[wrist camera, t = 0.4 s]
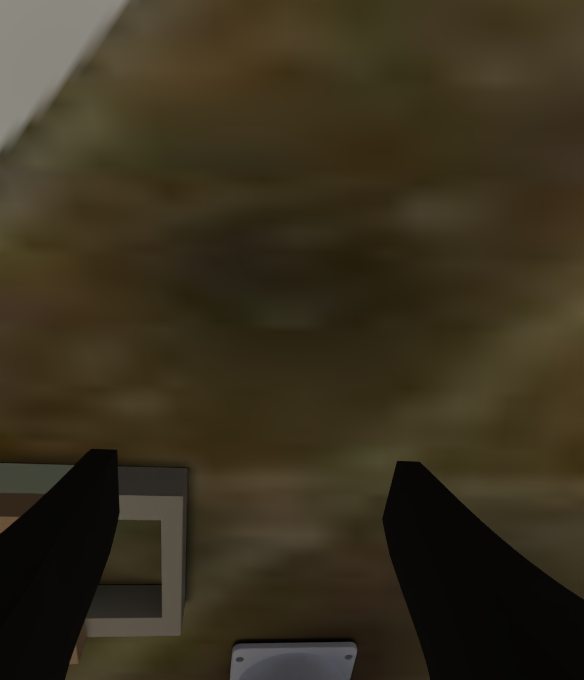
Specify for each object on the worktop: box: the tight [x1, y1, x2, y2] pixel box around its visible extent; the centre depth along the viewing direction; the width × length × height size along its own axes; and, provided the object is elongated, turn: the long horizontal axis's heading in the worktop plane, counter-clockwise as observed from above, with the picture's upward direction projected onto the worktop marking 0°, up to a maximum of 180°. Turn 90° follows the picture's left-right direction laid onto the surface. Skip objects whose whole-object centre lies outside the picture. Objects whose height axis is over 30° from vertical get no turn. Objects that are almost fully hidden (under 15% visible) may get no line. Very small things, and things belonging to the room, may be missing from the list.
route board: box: [0, 463, 188, 664], centre depth 24 cm, size 10×13×3 cm
